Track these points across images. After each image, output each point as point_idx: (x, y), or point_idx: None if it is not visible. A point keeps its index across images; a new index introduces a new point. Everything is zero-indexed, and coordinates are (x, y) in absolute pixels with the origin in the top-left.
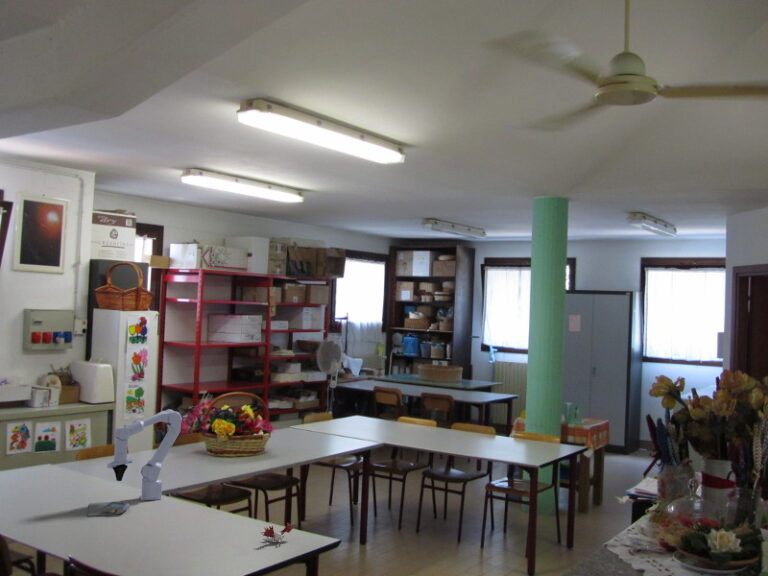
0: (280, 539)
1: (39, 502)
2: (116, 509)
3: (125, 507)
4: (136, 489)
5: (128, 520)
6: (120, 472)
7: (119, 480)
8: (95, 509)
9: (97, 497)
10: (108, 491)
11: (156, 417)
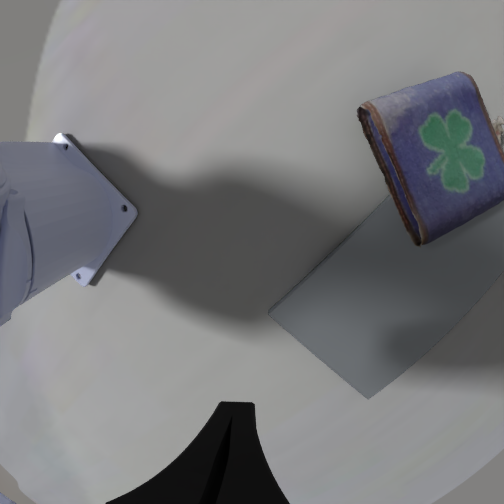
0: None
1: (392, 495)
2: (482, 115)
3: (434, 82)
4: (47, 377)
5: (472, 15)
6: (271, 483)
7: (253, 411)
8: (456, 288)
9: None
10: (145, 451)
11: None
